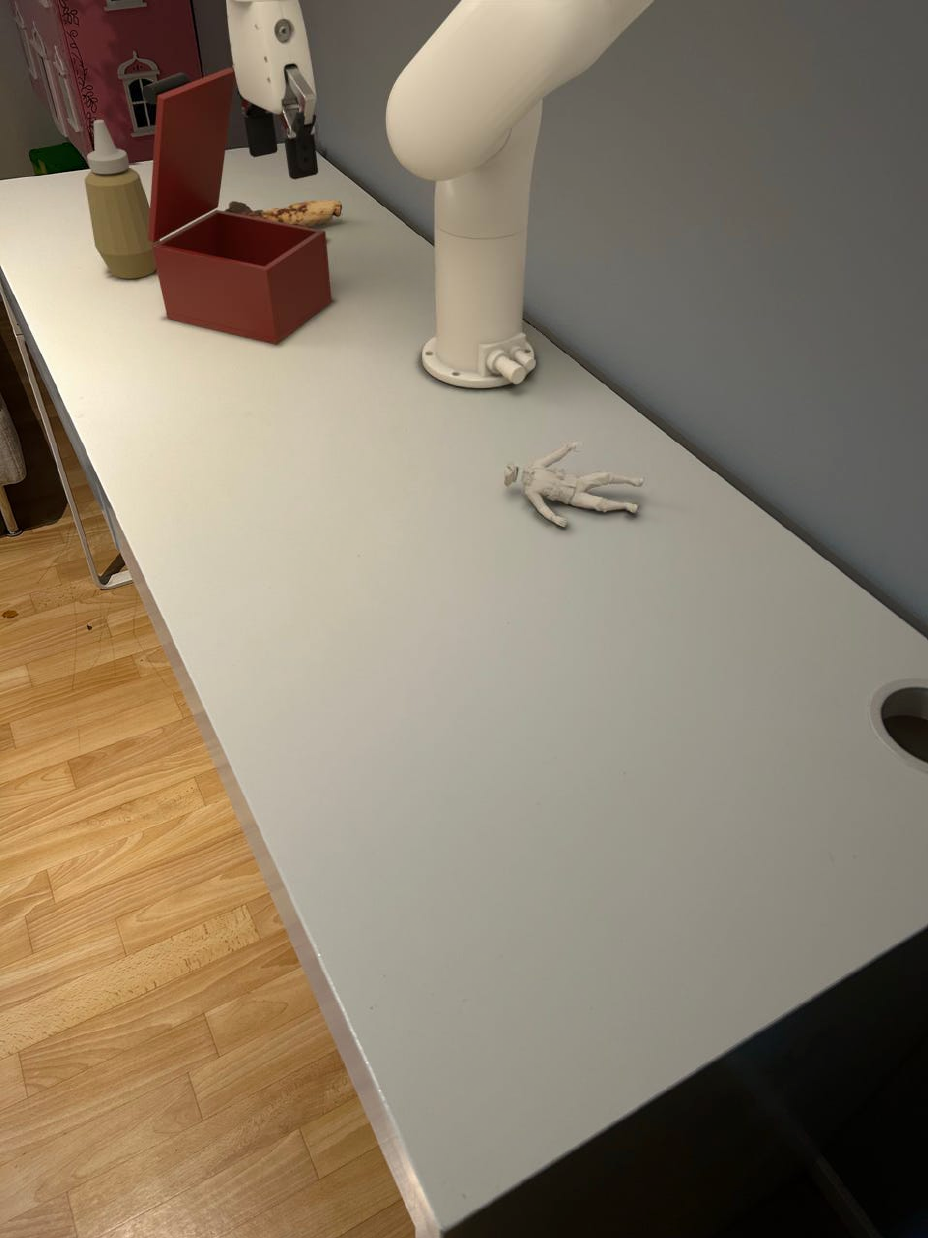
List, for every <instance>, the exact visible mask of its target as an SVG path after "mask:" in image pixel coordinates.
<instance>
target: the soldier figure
mask: <svg viewBox="0 0 928 1238" xmlns="http://www.w3.org/2000/svg"><path fill="white" fill-rule="evenodd" d="M584 444H585V443H584V442H582V441H574V442H570V443H568V444H565V445H563V446H562V447H560V448H559V449H556V450H553V451H552V452H551V453H549V454H547V455H545V456H544V457H542V458H539V459H536V460H534V461H532V462H531V464H530V465H529V467H528V469H526V470H524V469H525V468H522V467H518V466H516V465H515V464H514V463H513V461H511V462H508V463H506V468H504V469H505V470H504V473H503V475H504V480H503V481H504V486H506V488H509V486H511V484H513V483H516V482H517V480H518V476H519V474H521V478H520V481H521V483H522V484H524V494H525V495H526V497H527V498H528V500H529V501H530V502H531V503H532V504H533V506H534V507H535V508H536V509H537V511H538V513H540V514H541V515H542V516H543V517H544V518H546V519H547V520H549V521H550V522H552V523H555V524H556V525H557V526H559V527H563V528H565V527H566V525H567V523H568V522H567V518H565V517H562V516H559V515H556V513H555V512H554V511H552V510H551V509H550V507H549V505H547V503H545V501H544V499H543V496H544V497H546V499H548V500H550V501H552V502H555V501H558V502H563V503H564V504H565V505H572V506H575V507H579V508H583V509H593V510H594V509H595V510H596V511H598V512H603V513H606V512H608V511H613V510H623V509H625V510H626V511H627V512H628V511H629V512H630V513H632V514H636V513H637V510H638V508H639V504H636V503H632V502H630V501H623V502H621V501H615V500H611V499H610V500H609V499H608V498H606V497H603V496H597V495H592V494H589V493H587V491H588V490H591V489H594V488H598V487H601V486H607V485H614V484H616V485H620V484H621V485H622V484H627V485H631V486H633V487H637V488H641V487H642V486H643V484H644V480H645V478H644V477H630V476H628V475H623V474H619V473H615V472H612V471H610V470H607V471H594V472H591V473H587V474H585V475H582V476H579V477H576V475H574V474H569V473H565V470H564V469H563V468H559V467H554V469H551V468H549V467H551V466H552V465H553V464H555V463H557V462H559V461H561V460H562V459H563V458H564V457H565V456H566V455H568V453H570V452H571V451H573V452H577V453H578V452H579V450H578V449H576V447H583V446H584Z"/></svg>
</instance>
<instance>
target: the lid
mask: <svg viewBox="0 0 928 1238" xmlns="http://www.w3.org/2000/svg"><path fill="white" fill-rule="evenodd" d="M234 86H235V76H234V73H233V69H232V67H227V68H225V69H222V70H220V71H218V72H215V73H212V74H210V75H207V76H204V77H202V78H200V79H197V80H194V81H191V80H190V77H189V76H188V75H187V74H186V73H184V72H179V73H176V74H173V75H171V76H168V77H165V78H163V79H160V80H157V81H154V82H151V83H149V84H147V85H144V86H143V88H142V90H141V92H142V98H143V99H144V101H145V102H146V103H147V104H149V105H152V106H153V105H156V111H155V113H156V114H155V127H154V141H153V142H154V143H153V155H152V170H151V171H152V173H151V185H150V187H151V188H150V200H149V201H150V202H149V203H150V204H149V207H150V215H149V229H148V240H149V241H150V242H152V243H154V242H156V241H158V240H160V241H161V240H163V239H164V238H166V237H168V236H170V235H172V234H173V233H175V232H177V231H179V230H181V229H182V228H184V227H186V226H188V225H190V224H191V223H193V222H195V221H197V220H199V219H200V218H202V217H204V216H206V215H208V214H209V213H211V212H213V211H215V210H217V208H219V203H220V197H221V196H220V195H221V187H222V180H223V172H224V165H225V156H226V149H227V140H228V132H229V124H230V117H231V111H232V109H231V108H232V103H233V102H232V101H233V92H234Z"/></svg>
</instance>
